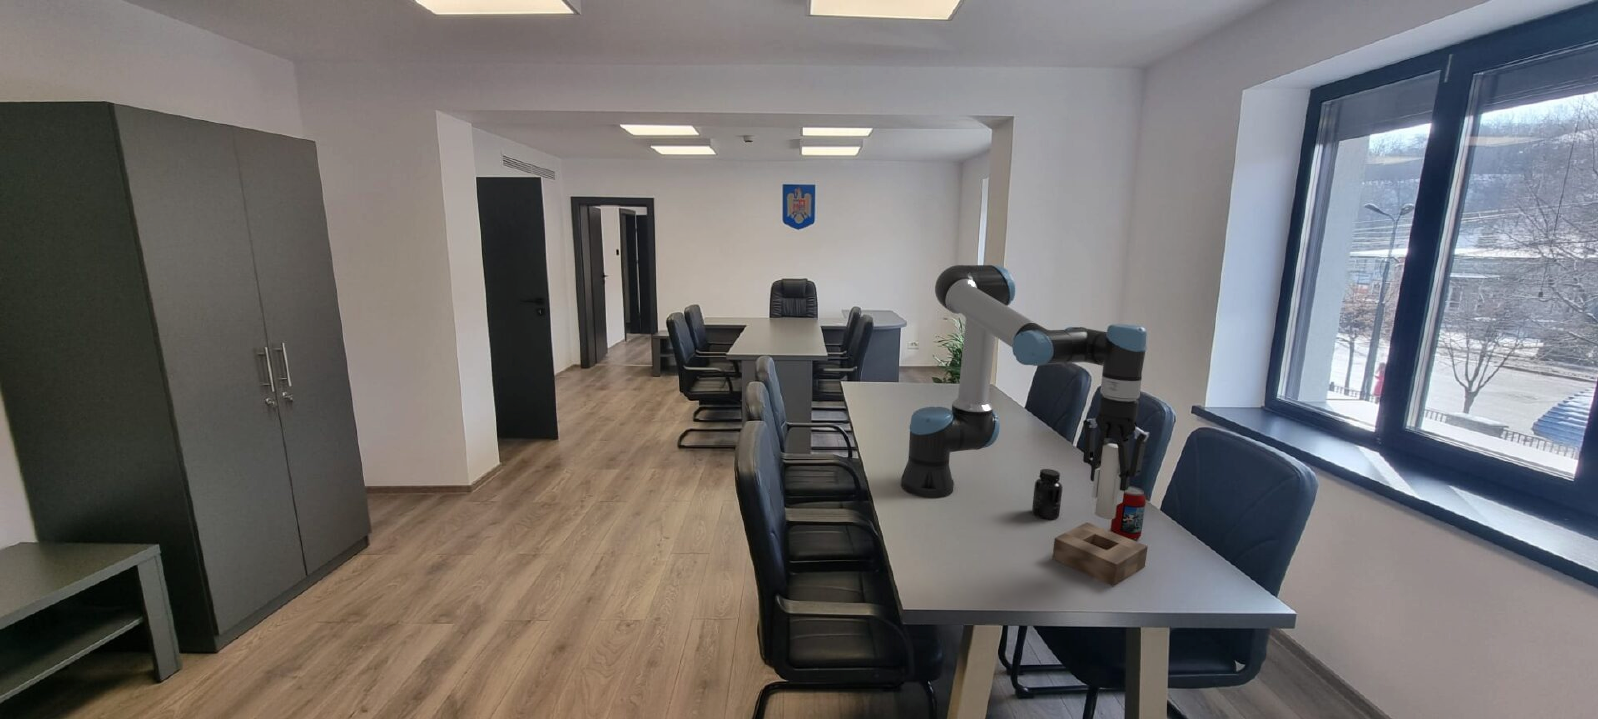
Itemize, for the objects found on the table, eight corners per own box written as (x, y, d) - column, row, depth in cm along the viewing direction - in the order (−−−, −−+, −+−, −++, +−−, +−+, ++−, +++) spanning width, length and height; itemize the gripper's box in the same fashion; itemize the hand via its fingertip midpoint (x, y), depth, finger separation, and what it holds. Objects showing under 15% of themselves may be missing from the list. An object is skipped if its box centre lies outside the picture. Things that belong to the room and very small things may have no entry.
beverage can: (1129, 543, 146) (1135, 497, 143) (1104, 531, 151) (1109, 486, 149) (1146, 538, 149) (1153, 492, 146) (1121, 526, 154) (1127, 482, 152)
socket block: (1052, 558, 138) (1054, 537, 137) (1084, 541, 146) (1086, 522, 145) (1113, 586, 127) (1116, 564, 126) (1144, 566, 135) (1147, 545, 134)
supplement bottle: (1061, 521, 157) (1066, 477, 154) (1034, 518, 158) (1038, 475, 156) (1056, 510, 163) (1060, 468, 161) (1029, 507, 165) (1034, 466, 162)
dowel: (1091, 514, 134) (1099, 445, 132) (1100, 509, 137) (1108, 442, 134) (1109, 520, 131) (1118, 450, 128) (1118, 516, 134) (1127, 447, 131)
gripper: (1072, 391, 134) (1061, 490, 138) (1153, 408, 120) (1139, 517, 124) (1089, 387, 138) (1079, 483, 142) (1169, 403, 125) (1155, 509, 129)
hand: (1107, 499), depth 133 cm, fingers closed on dowel, 4 cm apart
